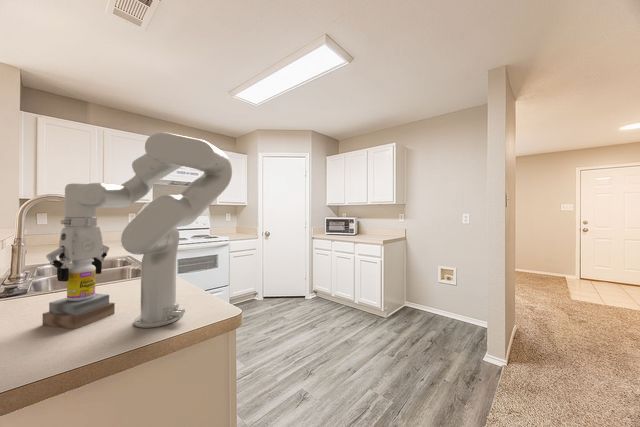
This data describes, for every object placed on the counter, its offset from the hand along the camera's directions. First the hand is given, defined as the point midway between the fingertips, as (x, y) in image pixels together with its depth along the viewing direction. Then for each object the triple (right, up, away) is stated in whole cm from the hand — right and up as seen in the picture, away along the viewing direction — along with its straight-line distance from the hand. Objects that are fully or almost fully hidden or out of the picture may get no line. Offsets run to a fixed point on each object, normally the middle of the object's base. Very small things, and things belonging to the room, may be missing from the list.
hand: (80, 277), depth 83 cm
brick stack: (0, -13, 0) cm, 13 cm away
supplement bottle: (0, -7, 0) cm, 7 cm away
